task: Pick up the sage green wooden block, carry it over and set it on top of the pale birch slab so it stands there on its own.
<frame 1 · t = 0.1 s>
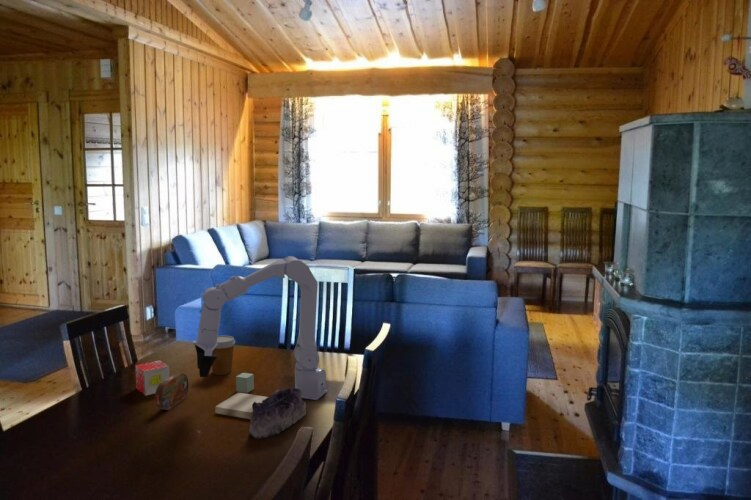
hand: (202, 372, 175), 10 cm above the table, fingers open, 7 cm apart
slab: (244, 410, 176), on the table
disposable coffee cup: (222, 372, 207), on the table
tin: (172, 405, 178), on the table
geode: (277, 426, 164), on the table
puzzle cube: (153, 389, 191), on the table
block: (245, 390, 190), on the table
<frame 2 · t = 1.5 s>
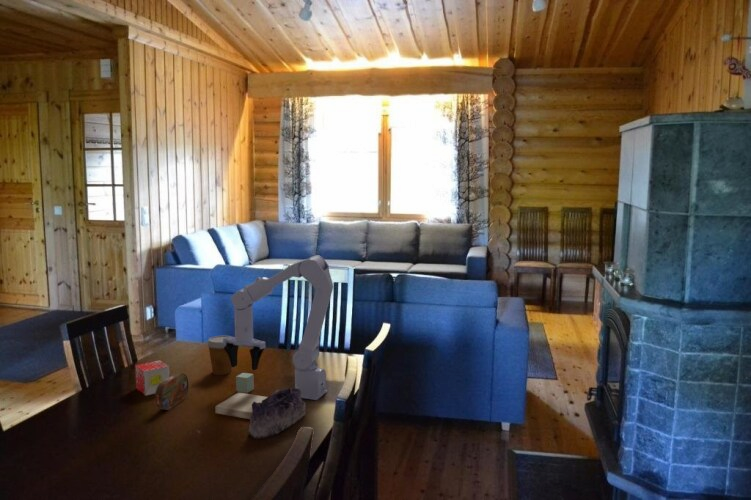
hand: (244, 367, 189), 7 cm above the table, fingers open, 7 cm apart
nothing on the table moved.
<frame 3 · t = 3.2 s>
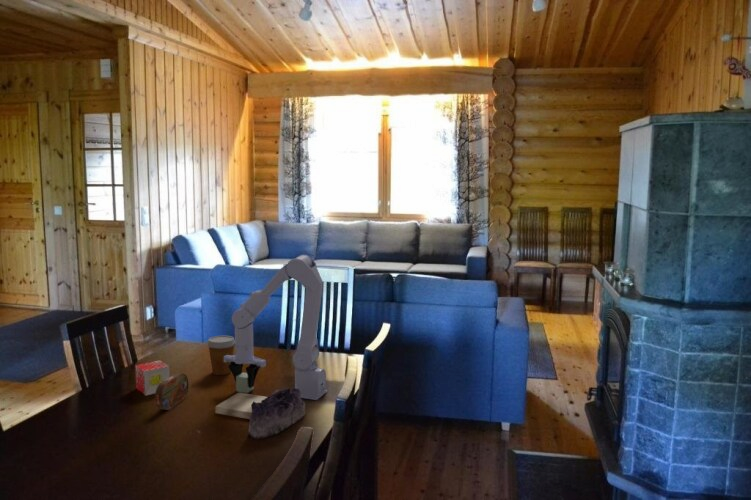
hand: (245, 385, 190), 1 cm above the table, fingers closed on block, 4 cm apart
block: (245, 390, 190), on the table, touching gripper
everything else where it was.
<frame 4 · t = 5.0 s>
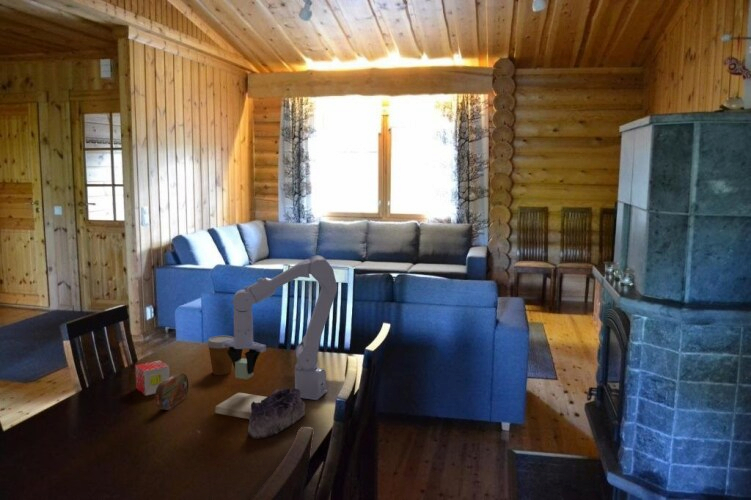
hand: (244, 372, 183), 8 cm above the table, fingers closed on block, 4 cm apart
block: (244, 376, 183), point 7 cm above the table, touching gripper
everything else where it was.
when the fingers open (5 cm above the table, at t = 7.0 s): block drops 2 cm, point 2 cm above the table.
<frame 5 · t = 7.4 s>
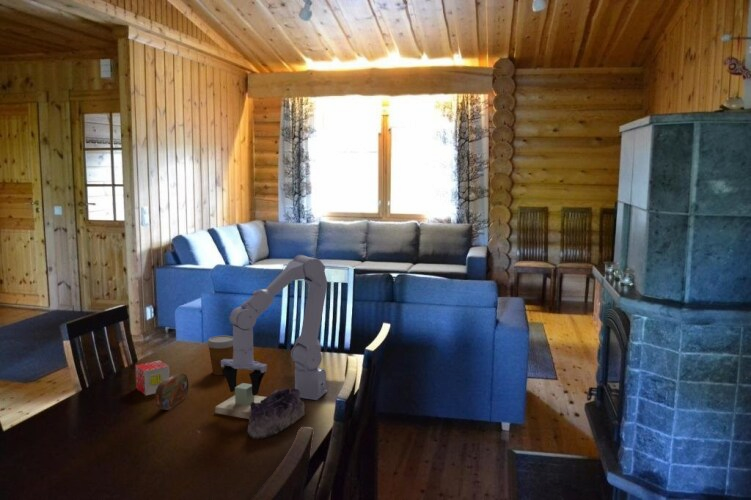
hand: (244, 392, 175), 5 cm above the table, fingers open, 7 cm apart
block: (244, 402, 175), point 2 cm above the table
everything else where it was.
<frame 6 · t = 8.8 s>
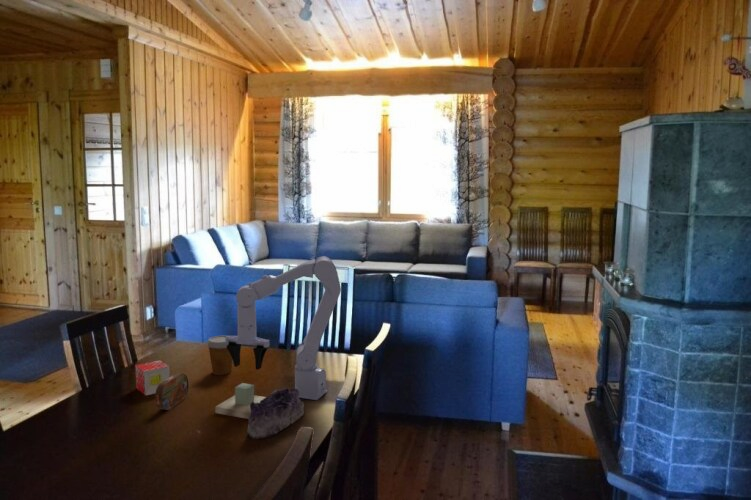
hand: (247, 367, 184), 9 cm above the table, fingers open, 7 cm apart
slab: (244, 410, 176), on the table, touching block
block: (244, 402, 175), point 2 cm above the table, touching slab
everything else where it was.
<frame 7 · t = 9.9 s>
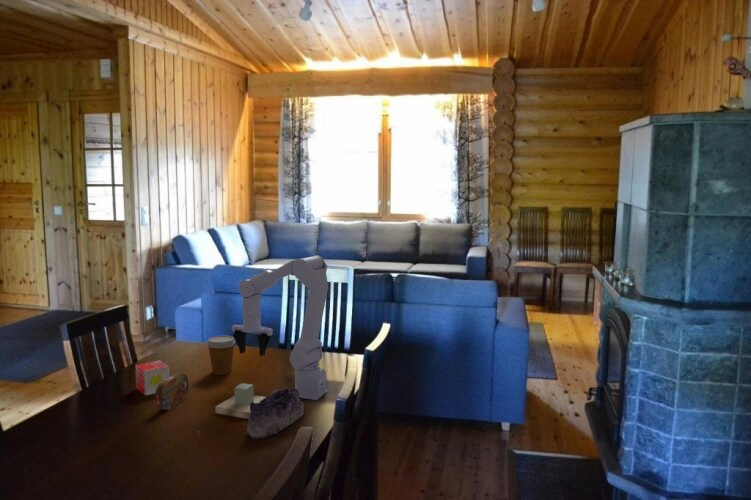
hand: (252, 354, 197), 9 cm above the table, fingers open, 7 cm apart
nothing on the table moved.
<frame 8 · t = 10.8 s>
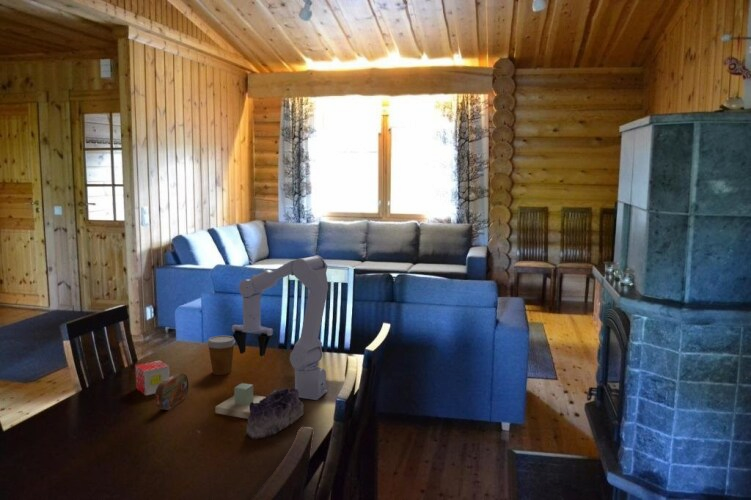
hand: (252, 354, 197), 9 cm above the table, fingers open, 7 cm apart
nothing on the table moved.
at the end: block inside the target area on the slab (0.1 cm from its centre), point 2.5 cm above the slab's base; block tilted 0°; the gripper is holding nothing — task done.
